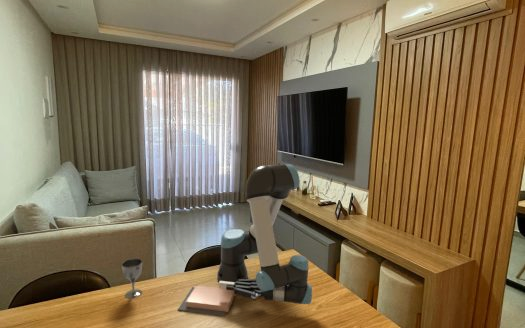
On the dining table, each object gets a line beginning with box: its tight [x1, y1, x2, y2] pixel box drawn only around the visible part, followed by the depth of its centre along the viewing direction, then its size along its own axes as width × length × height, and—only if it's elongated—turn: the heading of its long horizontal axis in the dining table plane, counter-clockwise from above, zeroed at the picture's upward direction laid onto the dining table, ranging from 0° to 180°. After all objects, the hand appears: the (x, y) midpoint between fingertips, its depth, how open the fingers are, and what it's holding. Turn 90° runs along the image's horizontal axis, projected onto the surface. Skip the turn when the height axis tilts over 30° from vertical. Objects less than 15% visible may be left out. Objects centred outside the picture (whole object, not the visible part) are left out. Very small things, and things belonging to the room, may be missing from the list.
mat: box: [177, 286, 227, 317], centre depth 128 cm, size 16×20×1 cm
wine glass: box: [121, 258, 143, 300], centre depth 130 cm, size 8×8×15 cm
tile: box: [186, 284, 235, 313], centre depth 127 cm, size 12×2×18 cm
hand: (219, 284), depth 126 cm, fingers closed
